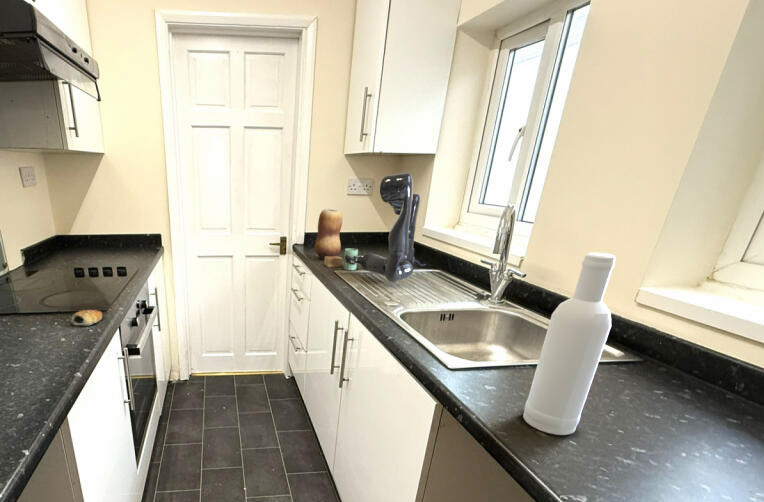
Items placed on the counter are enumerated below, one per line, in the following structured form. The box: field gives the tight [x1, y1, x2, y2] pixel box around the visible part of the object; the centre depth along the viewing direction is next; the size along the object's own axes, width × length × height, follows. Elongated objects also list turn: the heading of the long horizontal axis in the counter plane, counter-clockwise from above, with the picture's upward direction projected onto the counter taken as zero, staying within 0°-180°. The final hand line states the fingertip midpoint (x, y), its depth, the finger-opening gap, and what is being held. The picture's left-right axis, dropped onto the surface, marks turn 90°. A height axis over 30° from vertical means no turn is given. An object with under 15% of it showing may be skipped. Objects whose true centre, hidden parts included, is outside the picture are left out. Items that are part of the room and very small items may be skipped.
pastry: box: [70, 309, 103, 327], centre depth 123 cm, size 9×7×4 cm
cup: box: [342, 247, 359, 271], centre depth 191 cm, size 6×6×9 cm
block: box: [323, 255, 344, 268], centre depth 199 cm, size 7×6×4 cm
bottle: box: [522, 252, 617, 436], centre depth 68 cm, size 8×8×30 cm
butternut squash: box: [314, 208, 343, 261], centre depth 210 cm, size 14×13×25 cm
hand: (353, 256), depth 189 cm, fingers open, 8 cm apart
